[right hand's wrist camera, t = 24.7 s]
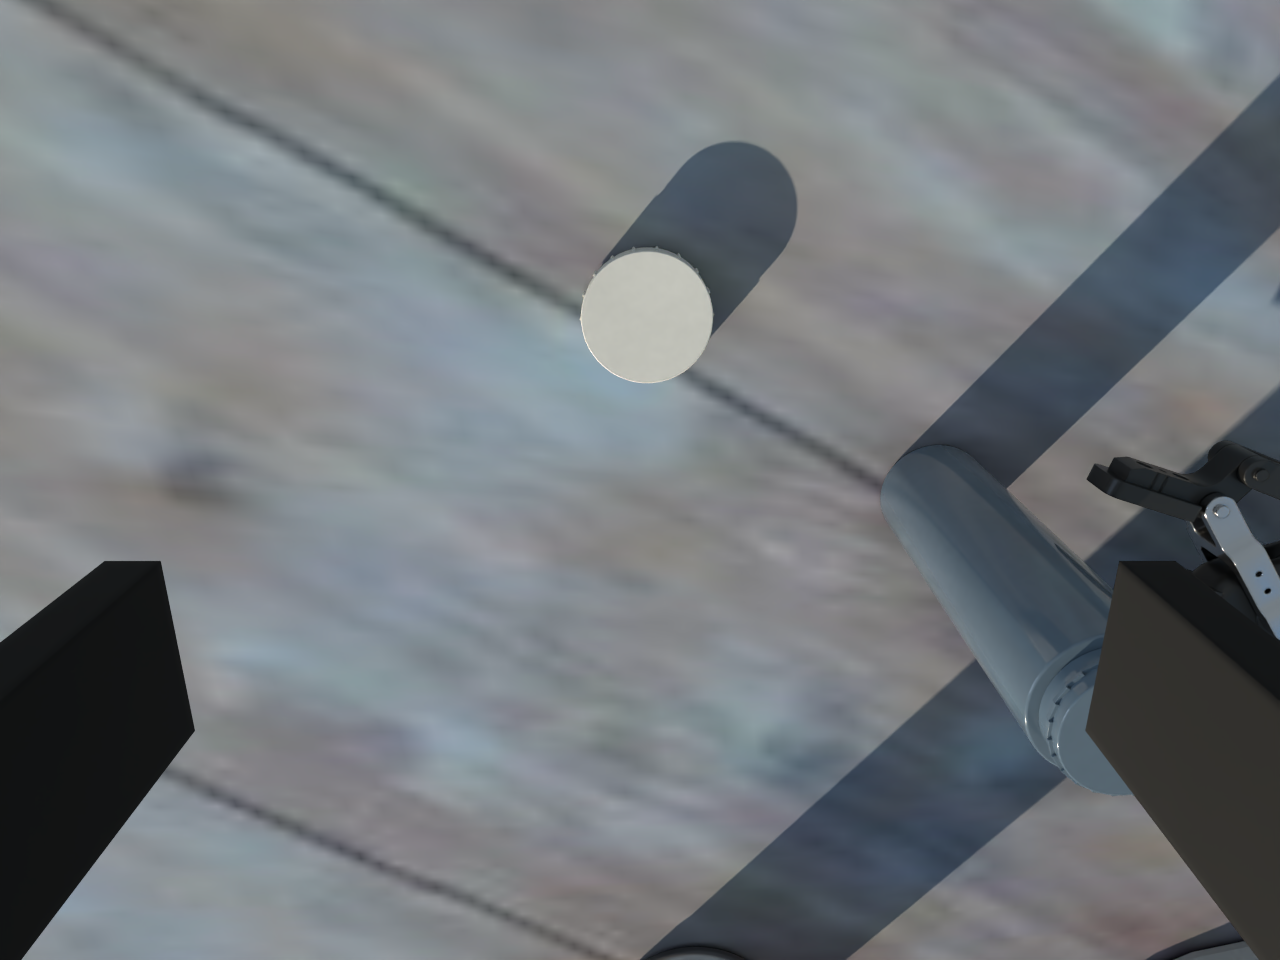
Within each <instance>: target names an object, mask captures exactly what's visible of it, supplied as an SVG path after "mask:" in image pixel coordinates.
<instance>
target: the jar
mask: <svg viewBox="0 0 1280 960" xmlns="http://www.w3.org/2000/svg"><path fill="white" fill-rule="evenodd" d="M880 501H881V509H882V513H883V515H884V518H885V520H886V522H887V523H888V525H889V526H890V528H891V529H892V531H893V532H894V534H895V535H896V537H897V539H898V540H899V542H900V543H901V545H902V546H903V548H904V549H905V551H906V552H907V554H908V555H909V557H910V558H911V560H912V562H913V563H914V565H915V566H916V568H917V569H918V571H919V572H920V574H921V575H922V577H923V578H924V580H925V581H926V583H927V585H928V586H929V588H930V589H931V591H932V592H933V594H934V595H935V597H936V598H937V600H938V601H939V603H940V604H941V606H942V607H943V609H944V611H945V612H946V614H947V615H948V617H949V618H950V620H951V621H952V623H953V624H954V626H955V627H956V629H957V630H958V632H959V634H960V635H961V637H962V638H963V640H964V641H965V643H966V644H967V646H968V647H969V649H970V650H971V652H972V653H973V655H974V657H975V658H976V660H977V661H978V663H979V664H980V666H981V667H982V669H983V670H984V672H985V673H986V675H987V676H988V678H989V680H990V681H991V683H992V684H993V686H994V687H995V689H996V690H997V692H998V693H999V695H1000V696H1001V698H1002V699H1003V701H1004V703H1005V704H1006V706H1007V707H1008V709H1009V710H1010V712H1011V713H1012V715H1013V716H1014V718H1015V719H1016V721H1017V722H1018V724H1019V726H1020V727H1021V729H1022V730H1023V732H1024V733H1025V735H1026V736H1027V738H1028V739H1029V741H1030V742H1031V744H1032V745H1033V747H1034V748H1035V749H1036V751H1037V752H1038V753H1039V754H1040V755H1041V756H1042V757H1043V758H1044V759H1046V760H1047V761H1049V762H1050V763H1051V764H1053V765H1055V766H1057V767H1058V768H1059V769H1060V771H1061V772H1062V773H1063V774H1064V775H1066V776H1067V777H1068V778H1070V779H1071V780H1072V781H1073V782H1074V783H1075V784H1077V785H1079V786H1082V787H1084V788H1087V789H1089V790H1091V791H1092V792H1096V793H1102V794H1108V795H1112V796H1118V795H1133V796H1134V794H1133V793H1132V792H1131V791H1130V789H1129V788H1128V787H1127V785H1126V784H1125V783H1124V781H1123V780H1122V779H1121V777H1120V776H1119V775H1118V773H1117V772H1116V771H1115V769H1114V768H1113V767H1112V765H1111V764H1110V763H1109V762H1108V760H1107V759H1106V758H1105V756H1104V755H1103V754H1102V752H1101V751H1100V750H1099V748H1098V747H1097V746H1096V744H1095V743H1094V742H1093V740H1092V739H1091V738H1090V736H1089V735H1088V734H1087V733H1086V731H1085V729H1086V724H1087V719H1088V714H1089V709H1090V704H1091V699H1092V694H1093V689H1094V684H1095V679H1096V674H1097V670H1098V665H1099V660H1100V655H1101V650H1102V645H1103V640H1104V635H1105V630H1106V625H1107V620H1108V615H1109V610H1110V605H1111V600H1112V595H1113V589H1112V588H1111V587H1110V586H1109V585H1108V584H1107V583H1106V582H1105V581H1104V580H1103V579H1102V578H1101V577H1099V576H1098V575H1097V574H1096V573H1095V572H1094V571H1093V570H1092V569H1091V568H1090V567H1089V566H1088V565H1087V564H1086V563H1085V562H1084V561H1082V560H1081V559H1080V558H1079V557H1078V556H1077V555H1076V554H1075V553H1074V552H1073V551H1072V550H1071V549H1070V548H1069V547H1068V546H1066V545H1065V544H1064V543H1063V542H1062V541H1061V540H1060V539H1059V538H1058V537H1057V536H1056V535H1055V534H1054V533H1053V532H1052V531H1051V530H1049V529H1048V528H1047V527H1046V526H1045V525H1044V524H1043V523H1042V522H1041V521H1040V520H1039V519H1038V518H1037V517H1036V516H1035V515H1033V514H1032V513H1031V512H1030V511H1029V510H1028V509H1027V508H1026V507H1025V506H1024V505H1023V504H1022V503H1021V502H1020V501H1019V500H1018V499H1016V498H1015V497H1014V496H1013V495H1012V494H1011V493H1010V492H1009V491H1008V490H1007V489H1006V488H1005V487H1004V486H1003V485H1002V484H1000V483H999V482H998V481H997V480H996V479H995V478H994V477H993V476H992V475H991V474H990V473H989V472H988V471H987V470H986V469H985V468H983V467H982V466H981V465H980V464H979V463H978V462H977V461H976V460H975V459H974V458H973V457H972V456H970V455H969V454H968V453H966V452H964V451H963V450H961V449H958V448H956V447H952V446H946V445H932V446H926V447H922V448H919V449H917V450H914V451H912V452H910V453H908V454H907V455H905V456H904V457H902V458H901V459H900V460H899V461H898V462H897V463H896V464H895V465H894V466H893V467H892V468H891V470H890V471H889V473H888V474H887V476H886V478H885V480H884V483H883V485H882V490H881V497H880Z"/></svg>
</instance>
